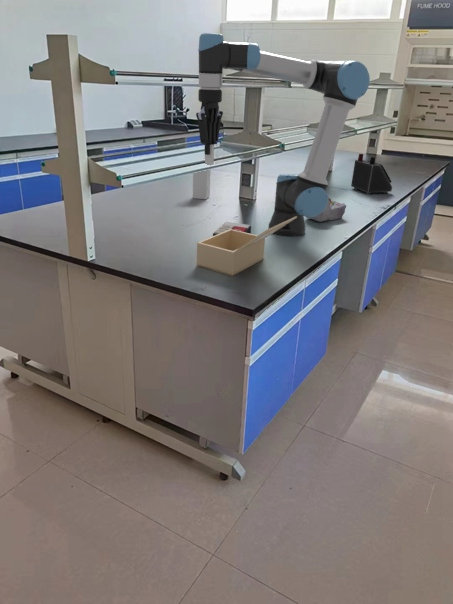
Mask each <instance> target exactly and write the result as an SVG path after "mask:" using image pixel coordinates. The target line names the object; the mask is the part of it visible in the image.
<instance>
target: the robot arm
mask: <svg viewBox="0 0 453 604" xmlns="http://www.w3.org/2000/svg"><path fill="white" fill-rule="evenodd" d="M224 40H225V39H224V35H223V34H222V33H215V32H214V33H211V32H209V33H205V32H204V33H201V34H200V35H199V37H198V50H197V51H198V88H199V89H198V101H199V103H201V106H200V111H199V112H196V114H195V116H196V120H197V122H198V124H197V125H198V133H199V141H200V143H201V145H204V159H205V164H207V165H210V166H213V165H214V163H215V161H214V160H215V145H217V144H218V142H219V138H220V131H221V125H222V118H223V114H224V112H223V111H222V110H220V106H219V103H222V101H223V91H222V88H223V72H224V71H223V69H225V70H233V71H236V72H243V73H247V74H250V75H251V74H252V75H256V76H262V77H267V78H272V79H275V80H280V81H284V82H290V83H293V84H294V83H295V84H299V85H303V86H302V87H304V88H305V89H308V90H312V91H316V92H318V93H321V94H322V95H323V97H322V99H323V102H324V107H323V110H322V114H321V117H320V120H319V123H318V126H317V129H316V132H315V136H314V138H313V142H312V144H311V147H310V151H309V153H308V156H307V160H306V163H305V166H304V169H303V171H302V172H301V173H281V174H279V175H278V176H277V179H276V182H275V184H276V187H275V196H274V197H275V198H274V199H275V200H274V210H273V213H272V216H271V218H270V221H269V222H268V228H267V229H269V228H272V227H274V226H276V225H278V224H280V223H282V222H285V221H287V220H289V219H291V218H293V217H295V216H297V218H295V219H294V220H292V221H291V222H289V223H288V224H286V225H285V226H283V227H282V228H280V229H279V230H277V231H276V232H274V233H273V234H275V235H279V236H284V237H285V236H287V237H297V236H298V237H299V236H302V235H304V234H305V233H306V224H305V223H306V222H305V218H306V217H315V216H317V215H319V214H321V213H322V212H323V211H324V209H325V208H326V206H327V203H328V198H329V196H328V193H327V189H328V186H329V182H328V181H327V176H328V173H329V170H330V167H331V165H332V161H333V159H334V155H335V153H336V150H337V147H338V144H339V142H340V138H341V135H342V133H343V129H344V126H345V125H346V120H347V118H348V114H349V112H350V111H351V110H353V109H354V108H355V107H356V104H357V102H358V100H359V99H360V98H361V97H363V96H364V95H365V94H366V93H367V91H368V90H369V86H370V80H371V79H370V73H369V71H368V68H367V67H366V65H365V64H363V63H362V62H360V61H357V60H352V59H350V60H349V59H348V60H326V61H325V60H316V59H309V60H308V61H305V60H301V59H298V58H293V57H290V56H289V57H288V56H284V55H280V54H275V53H271V52H268V51H267V52H266V51H263V50H261V48H260V46H259V45H258V44H257V43H255V42H254V43H252V42H242V41H241V42H237V41H236V42H235V41H233V42H232V41H224ZM304 217H305V218H304Z"/></svg>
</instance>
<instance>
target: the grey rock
mask: <svg viewBox="0 0 453 604" xmlns="http://www.w3.org/2000/svg"><path fill="white" fill-rule="evenodd" d="M346 208H347V205H346V203H344V202H343V203H340V202H338V201H336V200H334V201H333V200H331V198H330V197H328V203H327V206H326V208H325V209H324V211H323V212H322V213H321V214H319V215H317V216H315V217H305V218H307V219H310V220H314V221H315V222H318V223H319V222H327V221H328V222H329V221H337V220H339V219H342V218H343V217H344V214H345V212H346Z"/></svg>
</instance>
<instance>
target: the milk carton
mask: <svg viewBox="0 0 453 604" xmlns="http://www.w3.org/2000/svg"><path fill="white" fill-rule="evenodd" d="M210 192H211V169H210V170H206V171H201V172H197V173H193V172H192V199H199V200H200V199H201V200H207V199H208V198H210V195H211V193H210Z"/></svg>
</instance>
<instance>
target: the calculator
mask: <svg viewBox="0 0 453 604" xmlns="http://www.w3.org/2000/svg"><path fill="white" fill-rule="evenodd" d="M229 229H232V230H237V231H241V232H245V233H249V234H252V226H251V225H250V224H244V223H237V222H232V221H231V222H230V221H225V222H224V223H223V224H222V225H220V226H219V228H217V229H216V230H215V231H214V232H213V233H212V236H215V235H217V234H220V233H222V232H224V231H227V230H229Z"/></svg>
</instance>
